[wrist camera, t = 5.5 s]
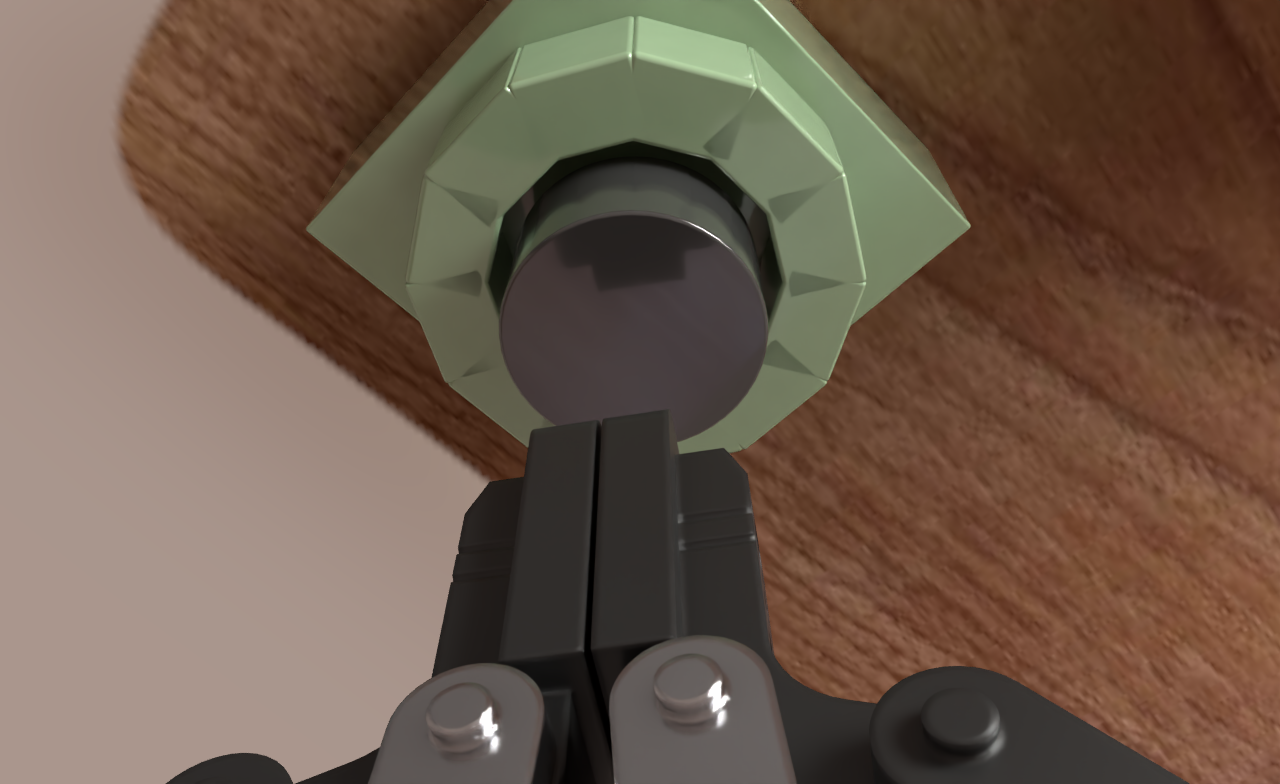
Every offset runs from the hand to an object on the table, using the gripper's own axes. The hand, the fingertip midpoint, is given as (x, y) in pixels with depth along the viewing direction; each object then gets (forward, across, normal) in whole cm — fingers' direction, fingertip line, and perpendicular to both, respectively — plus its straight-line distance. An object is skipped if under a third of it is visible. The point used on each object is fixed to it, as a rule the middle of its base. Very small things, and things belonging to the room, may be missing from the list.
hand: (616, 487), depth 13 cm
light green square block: (+10, 0, 0) cm, 11 cm away
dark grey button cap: (+6, 0, 0) cm, 6 cm away
